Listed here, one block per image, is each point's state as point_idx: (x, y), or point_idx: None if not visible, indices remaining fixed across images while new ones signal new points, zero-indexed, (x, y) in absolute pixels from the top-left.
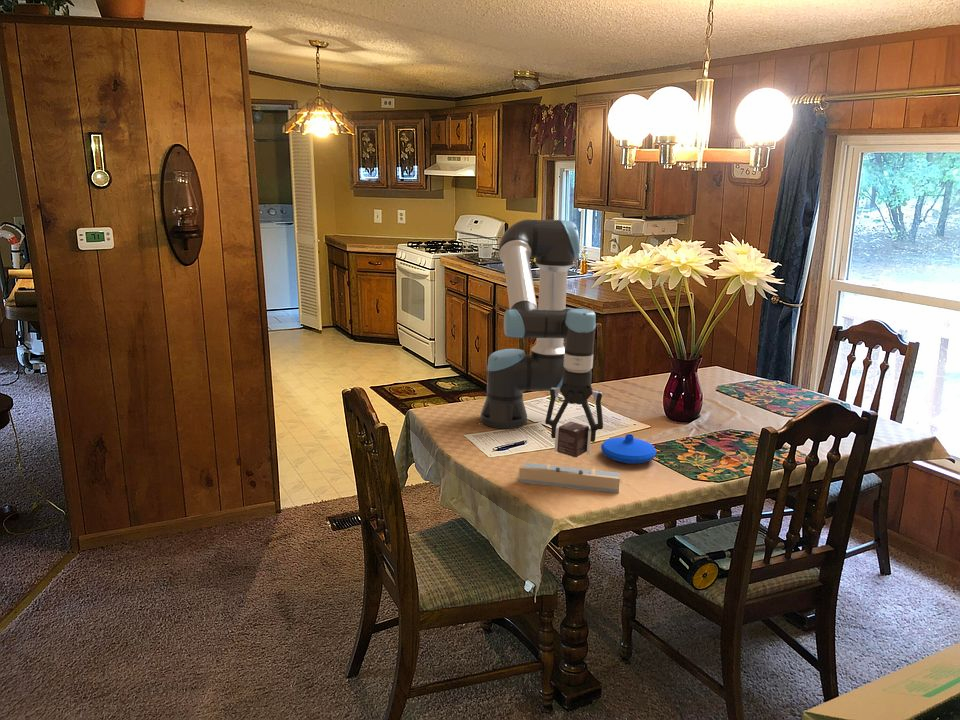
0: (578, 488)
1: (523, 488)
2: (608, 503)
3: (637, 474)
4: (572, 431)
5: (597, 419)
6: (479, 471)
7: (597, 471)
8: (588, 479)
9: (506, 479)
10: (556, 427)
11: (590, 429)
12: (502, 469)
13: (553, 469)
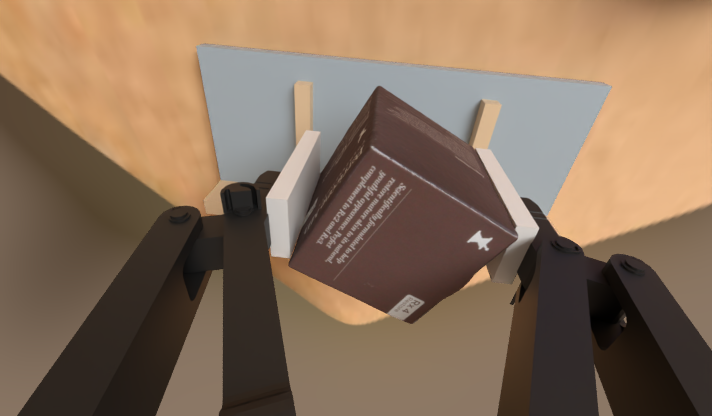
0: None
1: None
2: (484, 273)
3: (708, 42)
4: (381, 307)
5: (598, 372)
6: (78, 126)
7: (509, 87)
8: None
9: (186, 172)
10: (273, 247)
11: (518, 254)
12: (138, 94)
13: (323, 99)
